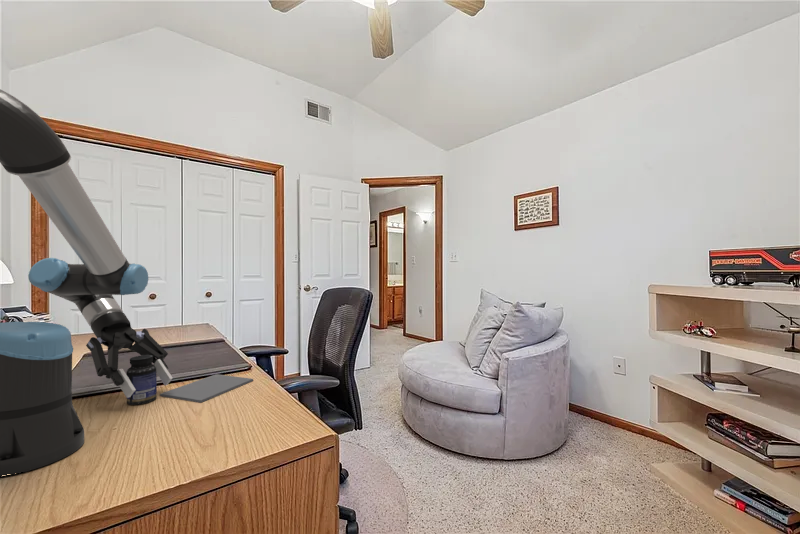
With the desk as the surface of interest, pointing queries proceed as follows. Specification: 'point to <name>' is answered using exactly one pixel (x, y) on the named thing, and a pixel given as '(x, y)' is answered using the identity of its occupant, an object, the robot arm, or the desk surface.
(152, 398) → the pill bottle
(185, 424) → the desk surface
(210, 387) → the desk mat
